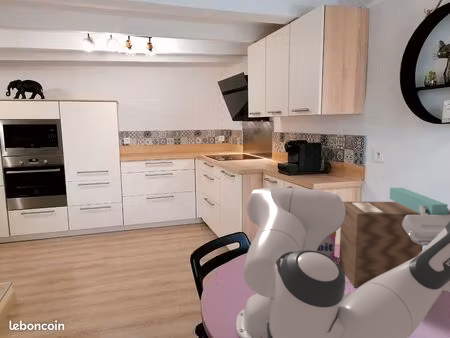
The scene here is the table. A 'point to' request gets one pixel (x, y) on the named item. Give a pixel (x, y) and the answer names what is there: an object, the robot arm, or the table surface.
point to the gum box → (328, 245)
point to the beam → (417, 201)
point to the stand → (374, 240)
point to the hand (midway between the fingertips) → (431, 206)
